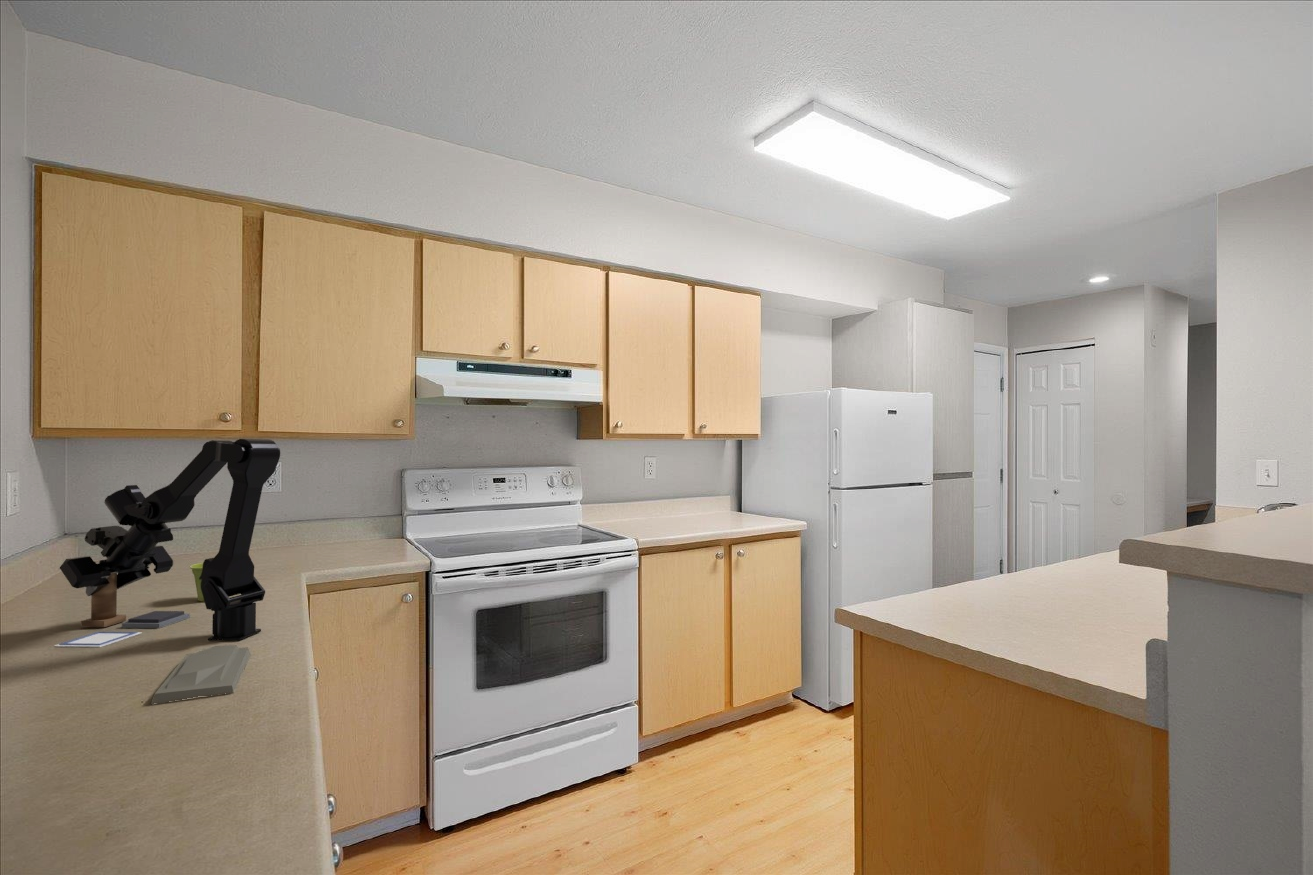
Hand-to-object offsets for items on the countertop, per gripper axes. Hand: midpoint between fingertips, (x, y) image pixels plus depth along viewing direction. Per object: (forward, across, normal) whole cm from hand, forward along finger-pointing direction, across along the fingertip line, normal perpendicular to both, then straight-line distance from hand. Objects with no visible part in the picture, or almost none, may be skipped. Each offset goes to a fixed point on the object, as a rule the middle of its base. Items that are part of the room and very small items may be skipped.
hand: (99, 592), depth 131 cm
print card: (-4, +8, +13) cm, 16 cm away
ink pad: (-3, -4, +12) cm, 13 cm away
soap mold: (-31, +18, +42) cm, 55 cm away
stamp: (+4, 0, +6) cm, 7 cm away
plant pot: (+3, -24, +7) cm, 25 cm away
